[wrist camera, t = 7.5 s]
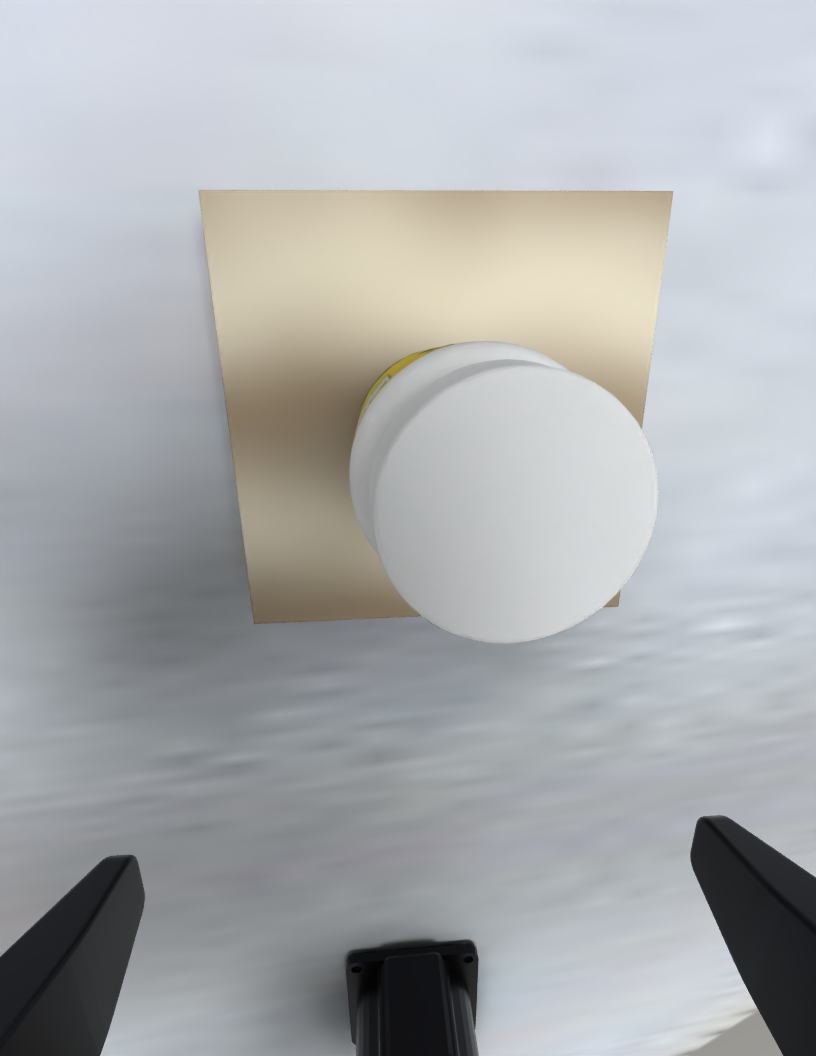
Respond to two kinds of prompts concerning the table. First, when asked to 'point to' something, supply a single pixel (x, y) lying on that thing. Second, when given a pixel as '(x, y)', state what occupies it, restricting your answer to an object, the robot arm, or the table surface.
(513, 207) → the birch base
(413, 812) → the table surface
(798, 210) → the table surface
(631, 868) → the table surface
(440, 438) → the supplement bottle
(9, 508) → the table surface
